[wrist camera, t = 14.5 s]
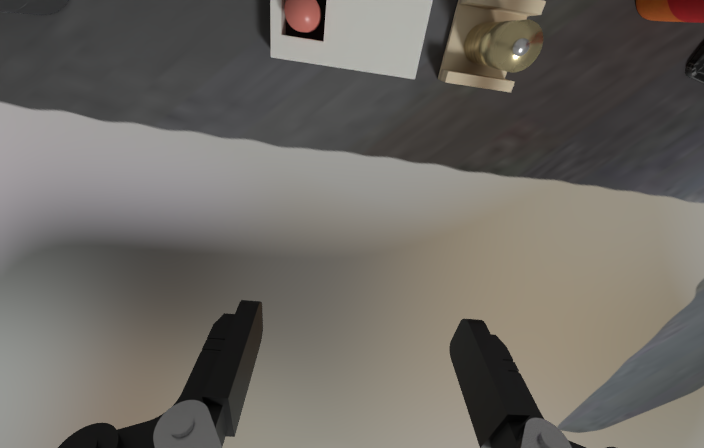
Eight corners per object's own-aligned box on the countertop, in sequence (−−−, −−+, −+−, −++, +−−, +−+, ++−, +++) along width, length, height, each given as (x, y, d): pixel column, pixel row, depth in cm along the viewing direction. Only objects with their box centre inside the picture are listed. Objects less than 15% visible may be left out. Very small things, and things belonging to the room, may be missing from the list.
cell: (471, 19, 29) (509, 15, 22) (505, 25, 30) (554, 23, 22) (458, 60, 31) (490, 69, 24) (491, 66, 31) (532, 76, 24)
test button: (290, 29, 30) (284, 29, 27) (291, -8, 28) (284, -13, 25) (320, 34, 30) (317, 34, 27) (323, -3, 28) (320, -7, 25)
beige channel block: (437, 78, 33) (445, 82, 30) (460, -9, 29) (471, -13, 26) (498, 88, 33) (510, 92, 31) (528, 4, 29) (546, 1, 27)
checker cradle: (275, 55, 31) (269, 57, 29) (276, -45, 27) (269, -53, 25) (410, 76, 32) (415, 79, 30) (430, -17, 28) (438, -22, 26)
